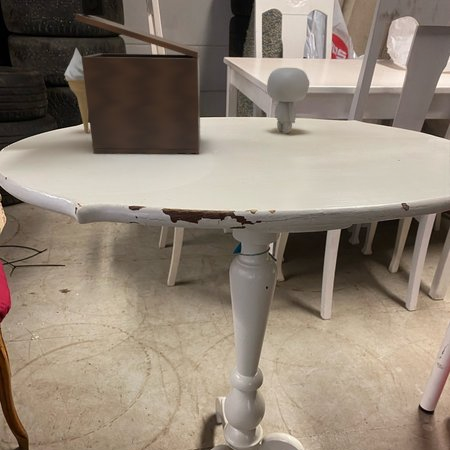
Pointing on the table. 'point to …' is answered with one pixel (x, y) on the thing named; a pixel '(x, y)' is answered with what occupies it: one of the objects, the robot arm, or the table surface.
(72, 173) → the table surface
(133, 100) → the bin
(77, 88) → the ice cream cone
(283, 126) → the figurine
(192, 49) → the bin lid
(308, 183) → the table surface
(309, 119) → the table surface
